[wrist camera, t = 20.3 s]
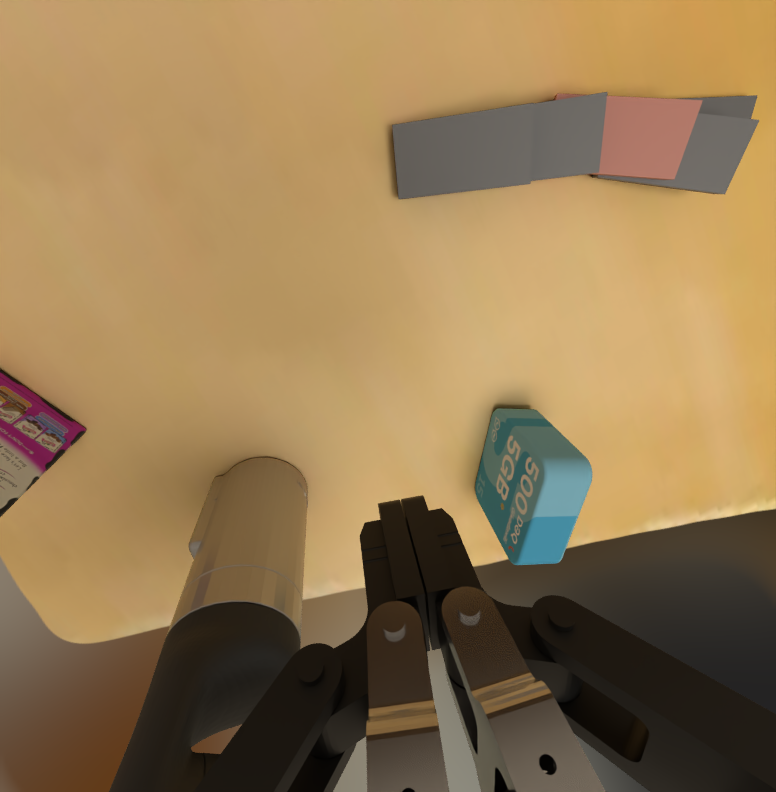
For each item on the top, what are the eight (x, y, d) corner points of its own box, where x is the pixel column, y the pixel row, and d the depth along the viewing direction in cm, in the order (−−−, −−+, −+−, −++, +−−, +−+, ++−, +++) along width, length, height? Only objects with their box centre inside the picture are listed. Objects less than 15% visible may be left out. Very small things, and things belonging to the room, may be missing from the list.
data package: (493, 403, 44) (549, 467, 33) (532, 404, 45) (598, 467, 34) (472, 492, 49) (515, 573, 38) (507, 491, 50) (558, 571, 39)
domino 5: (633, 171, 35) (737, 164, 36) (646, 100, 32) (757, 95, 33) (619, 172, 36) (719, 166, 37) (630, 104, 34) (737, 100, 35)
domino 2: (464, 189, 33) (599, 172, 31) (462, 115, 30) (607, 91, 28) (465, 189, 34) (592, 173, 32) (463, 118, 32) (600, 97, 30)
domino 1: (398, 199, 32) (530, 183, 30) (392, 124, 30) (533, 102, 28) (401, 198, 34) (527, 184, 32) (396, 128, 32) (530, 107, 30)
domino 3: (540, 169, 33) (674, 179, 31) (557, 93, 30) (702, 100, 29) (538, 170, 34) (665, 180, 33) (554, 98, 32) (691, 105, 30)
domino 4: (597, 177, 34) (724, 194, 33) (621, 104, 31) (759, 120, 30) (591, 177, 35) (713, 193, 34) (614, 108, 33) (745, 123, 32)
